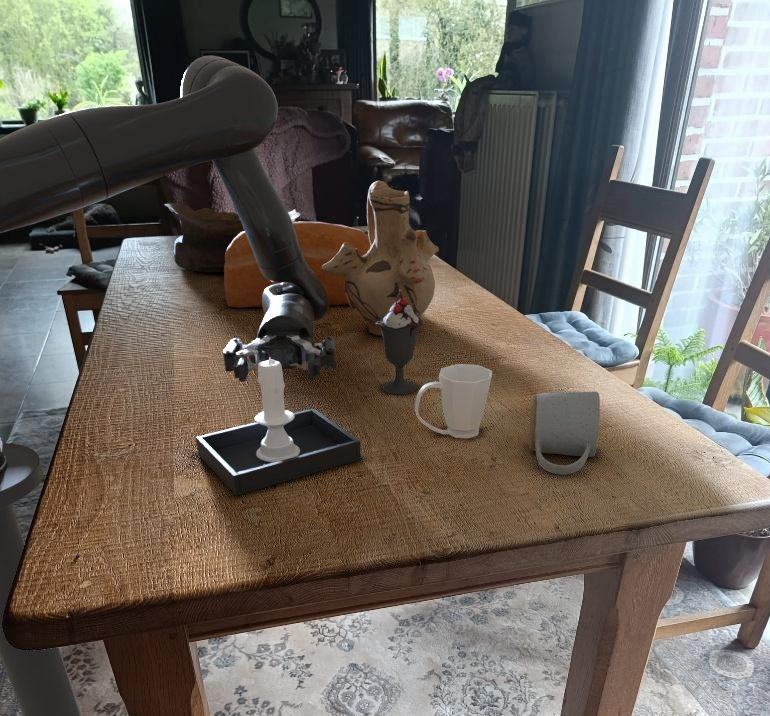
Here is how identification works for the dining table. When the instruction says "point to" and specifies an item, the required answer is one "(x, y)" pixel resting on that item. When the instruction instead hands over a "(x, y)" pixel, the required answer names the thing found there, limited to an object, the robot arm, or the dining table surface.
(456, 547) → the dining table surface
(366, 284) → the ceramic vessel
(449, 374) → the cup
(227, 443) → the tray
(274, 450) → the candle
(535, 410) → the ceramic mug
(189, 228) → the bowl
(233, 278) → the bread
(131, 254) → the dining table surface
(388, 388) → the sundae
